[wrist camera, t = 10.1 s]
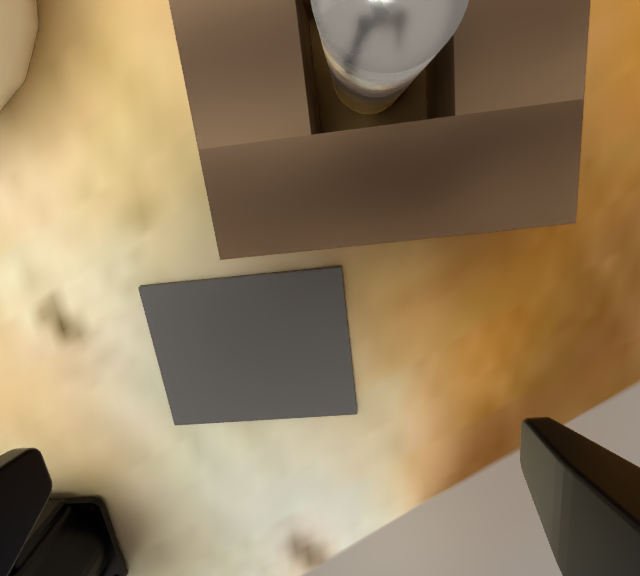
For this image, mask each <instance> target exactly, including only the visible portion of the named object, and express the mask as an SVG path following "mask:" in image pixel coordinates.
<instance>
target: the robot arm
mask: <svg viewBox="0 0 640 576" xmlns="http://www.w3.org/2000/svg"><path fill="white" fill-rule="evenodd" d="M520 462H521V467H522V471H523V474H524V477H525V480H526V482H527V485H528V488H529V490H530V493H531V495H532V498H533V501H534V504H535V506H536V509H537V512H538V514H539V517H540V520H541V522H542V525H543V528H544V530H545V533H546V535H547V538H548V541H549V544H550V546H551V549H552V551H553V554H554V557H555V559H556V562H557V564H558V566H559V568H560V571H561V572H562V575H563V576H640V467H638V466H636V465H634V464H632V463H631V462H629V461H627V460H625V459H623V458H622V457H620V456H618V455H616V454H614V453H612V452H611V451H609V450H607V449H605V448H604V447H602V446H600V445H598V444H596V443H595V442H593V441H591V440H589V439H587V438H586V437H584V436H582V435H580V434H578V433H577V432H575V431H573V430H571V429H569V428H567V427H566V426H564V425H562V424H560V423H559V422H557V421H555V420H553V419H551V418H549V417H535V418H525V419H524V420H523V421H522V424H521V444H520ZM51 491H52V480H51V477H50V475H49V472H48V469H47V467H46V464H45V462H44V459H43V456H42V454H41V452H40V451H39V450H38V449H36V448H19V449H13V450H11V451H8V452H6V453H4V454H2V455H0V576H127V574H128V571H127V568H126V565H125V562H124V559H123V556H122V553H121V551H120V548H119V545H118V542H117V539H116V536H115V533H114V531H113V528H112V525H111V522H110V519H109V516H108V513H107V510H106V508H105V505H104V503H103V501H102V500H101V499H99V498H96V497H89V498H66V499H49V497H50V495H51Z"/></svg>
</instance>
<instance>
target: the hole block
mask: <svg viewBox="0 0 640 576" xmlns="http://www.w3.org/2000/svg"><path fill="white" fill-rule="evenodd" d="M169 4H170V9H171V14H172V19H173V24H174V30H175V35H176V40H177V45H178V50H179V55H180V60H181V65H182V70H183V75H184V80H185V85H186V90H187V95H188V100H189V105H190V110H191V115H192V120H193V125H194V130H195V135H196V140H197V145H198V150H199V155H200V160H201V165H202V170H203V175H204V181H205V186H206V191H207V196H208V201H209V206H210V211H211V216H212V221H213V226H214V231H215V236H216V241H217V246H218V251H219V256H220V260H223V259H233V258H242V257H252V256H262V255H272V254H281V253H291V252H301V251H310V250H320V249H330V248H340V247H349V246H359V245H369V244H379V243H388V242H398V241H408V240H418V239H427V238H437V237H447V236H456V235H466V234H476V233H486V232H495V231H505V230H515V229H525V228H534V227H544V226H554V225H564V224H573V223H576V212H577V197H578V182H579V166H580V151H581V136H582V120H583V105H584V90H585V74H586V59H587V44H588V28H589V13H590V0H469V2H468V6H467V9H466V11H465V14H464V16H463V19H462V20H461V22H460V24H459V26H458V28H457V30H456V31H455V33H454V34H453V35H452V37H451V38H450V40H449V41H448V42H447V43H446V44H445V45H444V46H443V48H442V49H441V50H440V51H439V52H438V53H437V54H436V56H435V57H434V58H433V59H432V60H431V61H430V62H429V63H428V65H427V66H426V67H425V74H426V99H427V119H426V120H419V121H411V122H404V123H396V124H388V125H381V126H373V127H366V128H358V129H350V130H343V131H335V132H328V133H321V129H320V120H319V111H318V102H317V93H316V85H315V76H314V67H313V58H312V49H311V40H310V31H309V22H308V20H310V19H315V18H314V14H313V11H312V6H311V0H169Z"/></svg>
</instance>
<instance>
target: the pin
mask: <svg viewBox="0 0 640 576" xmlns="http://www.w3.org/2000/svg"><path fill="white" fill-rule="evenodd" d="M468 2H469V0H311V6H312V11H313V14H314V18H315V21H316V25H317V28H318V32H319V35H320V39H321V42H322V46H323V49H324V53H325V56H326V60H327V63H328V67H329V70H330V74H331V77H332V81H333V84H334V88H335V91H336V93H337V95H338V97H339V99H340V100H341V101H342V103H343V104H344V105H345V106H346V107H348V108H349V109H351V110H353V111H355V112H357V113H361V114H374V113H378V112H381V111H383V110H385V109H387V108H388V107H390V106H391V105H392V104H393V103H394V102H395V101H396V100H397V99H398V97H399V96H400V95H401V94H402V93H403V92H404V91H405V89H406V88H407V87H408V86H409V85H410V84H411V83H412V82H413V80H414V79H415V78H416V77H417V76H418V75H419V74H420V73H421V71H422V70H423V69H424V68H425V67H426V66H427V65H428V63H429V62H430V61H431V60H432V59H433V58H434V57H435V56H436V54H437V53H438V52H439V51H440V50H441V49H442V48H443V46H444V45H445V44H446V43H447V42H448V41H449V40H450V38H451V37H452V35H453V34H454V33H455V31H456V30H457V28H458V26H459V24H460V22H461V20H462V19H463V16H464V14H465V11H466V9H467V6H468Z"/></svg>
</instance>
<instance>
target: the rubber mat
mask: <svg viewBox="0 0 640 576" xmlns="http://www.w3.org/2000/svg"><path fill="white" fill-rule="evenodd" d="M138 288H139V292H140V296H141V300H142V303H143V307H144V311H145V315H146V318H147V322H148V326H149V330H150V333H151V337H152V341H153V345H154V349H155V352H156V356H157V360H158V364H159V367H160V371H161V375H162V379H163V382H164V386H165V390H166V394H167V398H168V401H169V405H170V409H171V413H172V416H173V420H174V424H175V425H188V424H205V423H221V422H238V421H254V420H270V419H287V418H303V417H320V416H336V415H352V414H357V406H356V397H355V388H354V379H353V369H352V360H351V351H350V342H349V333H348V323H347V314H346V305H345V296H344V287H343V277H342V268H341V266H335V267H325V268H315V269H304V270H294V271H284V272H274V273H264V274H253V275H243V276H233V277H223V278H213V279H202V280H192V281H182V282H172V283H162V284H152V285H141V286H140V287H138Z"/></svg>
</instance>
